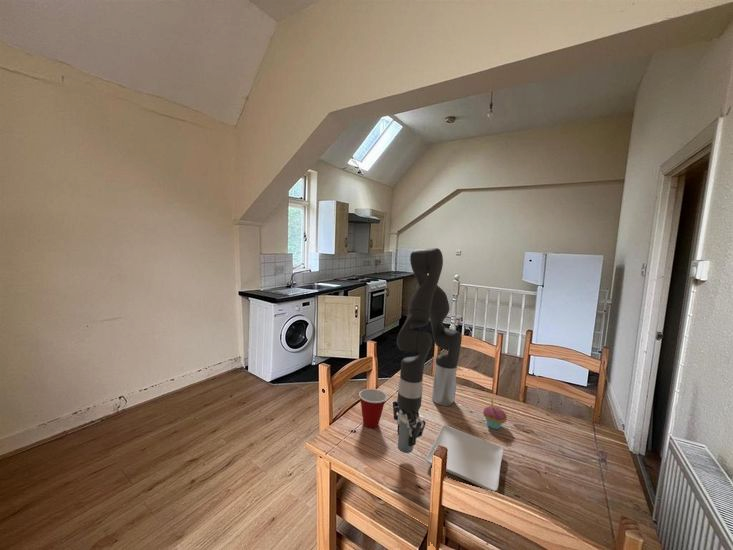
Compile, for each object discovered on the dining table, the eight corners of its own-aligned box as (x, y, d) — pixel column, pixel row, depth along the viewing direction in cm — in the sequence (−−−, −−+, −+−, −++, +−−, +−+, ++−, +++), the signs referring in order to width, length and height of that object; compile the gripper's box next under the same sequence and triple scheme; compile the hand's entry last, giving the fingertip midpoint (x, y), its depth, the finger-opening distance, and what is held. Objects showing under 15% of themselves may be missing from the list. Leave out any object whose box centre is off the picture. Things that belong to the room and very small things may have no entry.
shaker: (406, 440, 99) (409, 408, 98) (416, 450, 95) (419, 416, 93) (394, 444, 96) (396, 412, 95) (404, 455, 92) (406, 421, 90)
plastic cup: (387, 418, 117) (389, 390, 115) (381, 435, 106) (384, 404, 105) (361, 412, 119) (363, 384, 118) (353, 428, 109) (355, 398, 108)
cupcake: (481, 428, 115) (485, 399, 113) (482, 416, 123) (485, 389, 121) (505, 434, 112) (510, 405, 110) (504, 422, 119) (508, 394, 118)
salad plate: (496, 501, 83) (497, 490, 82) (423, 468, 93) (424, 458, 92) (502, 455, 101) (504, 446, 101) (441, 432, 111) (442, 423, 111)
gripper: (434, 399, 89) (429, 450, 91) (405, 378, 101) (401, 424, 103) (415, 405, 85) (411, 459, 87) (387, 383, 97) (383, 430, 99)
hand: (405, 439), depth 95 cm, fingers closed on shaker, 5 cm apart
